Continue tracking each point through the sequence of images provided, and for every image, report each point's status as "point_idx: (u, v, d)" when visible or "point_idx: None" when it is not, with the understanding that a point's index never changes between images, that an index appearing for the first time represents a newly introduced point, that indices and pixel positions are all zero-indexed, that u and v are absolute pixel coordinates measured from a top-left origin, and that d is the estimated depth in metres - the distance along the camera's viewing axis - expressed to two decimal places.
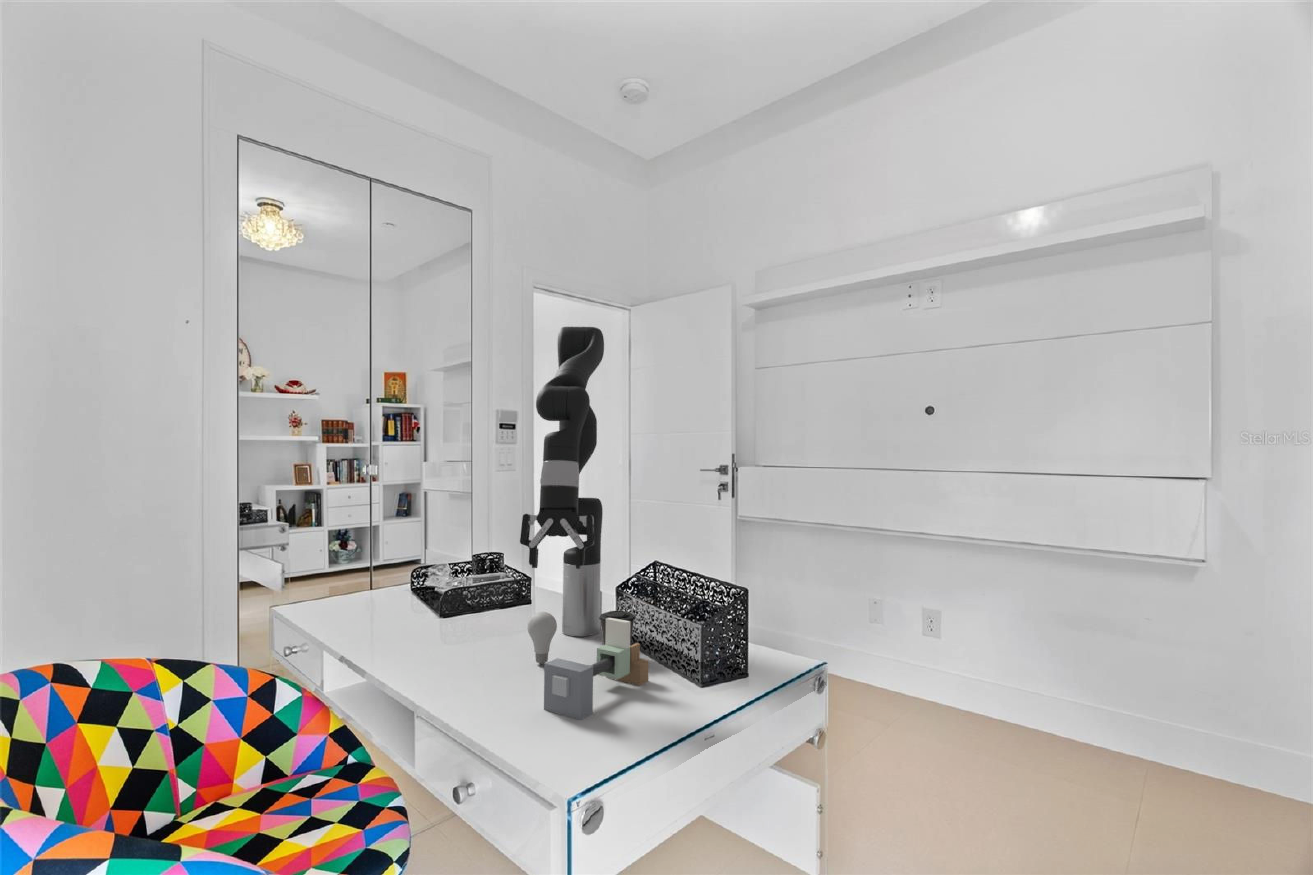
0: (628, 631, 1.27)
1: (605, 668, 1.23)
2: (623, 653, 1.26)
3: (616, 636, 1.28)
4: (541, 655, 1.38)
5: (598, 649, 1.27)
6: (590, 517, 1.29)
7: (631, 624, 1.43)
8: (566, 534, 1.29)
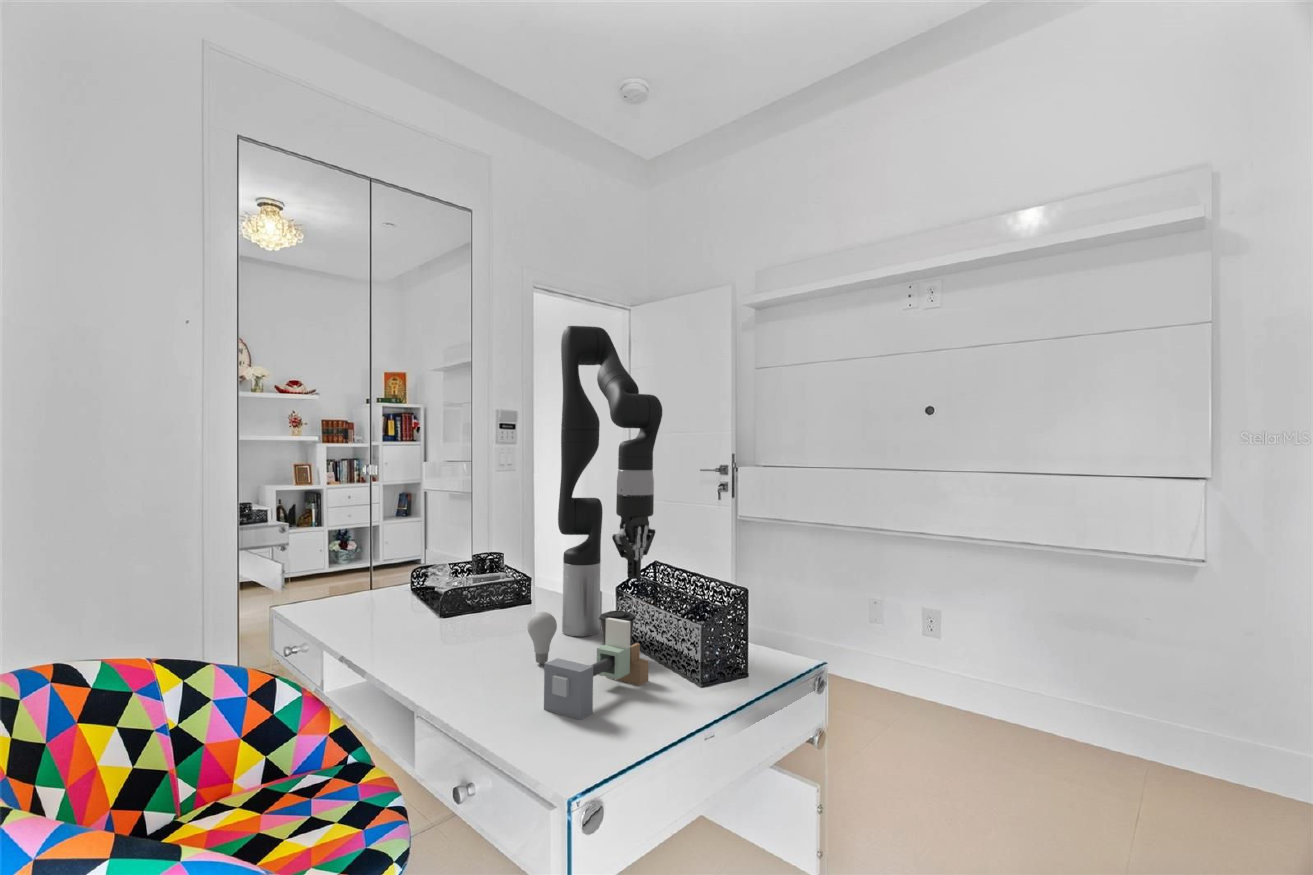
0: (628, 631, 1.27)
1: (605, 668, 1.23)
2: (623, 653, 1.26)
3: (616, 636, 1.28)
4: (541, 655, 1.38)
5: (598, 649, 1.27)
6: (654, 532, 1.38)
7: (631, 624, 1.43)
8: None
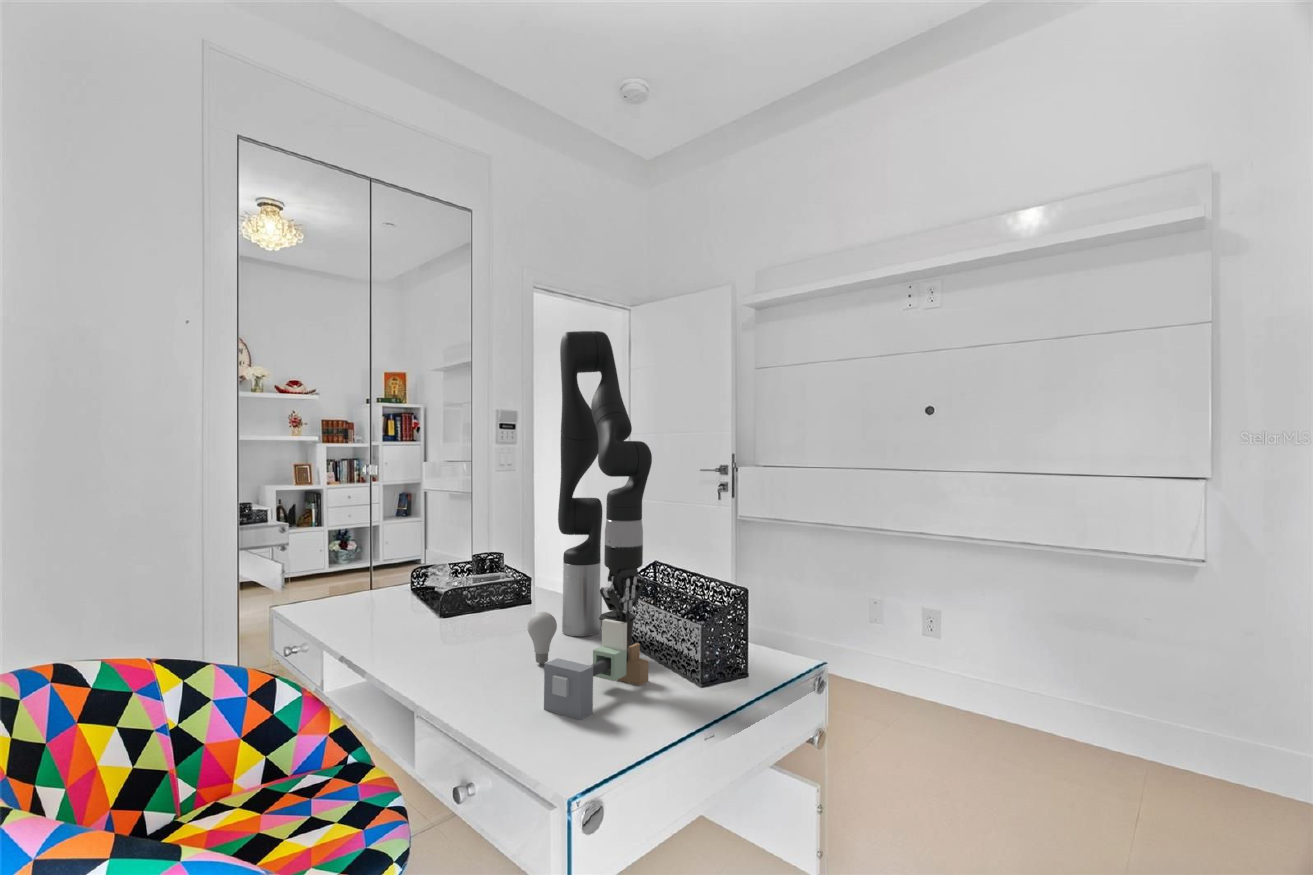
0: (624, 632, 1.26)
1: (605, 668, 1.23)
2: (619, 655, 1.25)
3: (612, 638, 1.27)
4: (541, 655, 1.38)
5: (594, 651, 1.26)
6: (644, 582, 1.34)
7: (631, 624, 1.43)
8: None
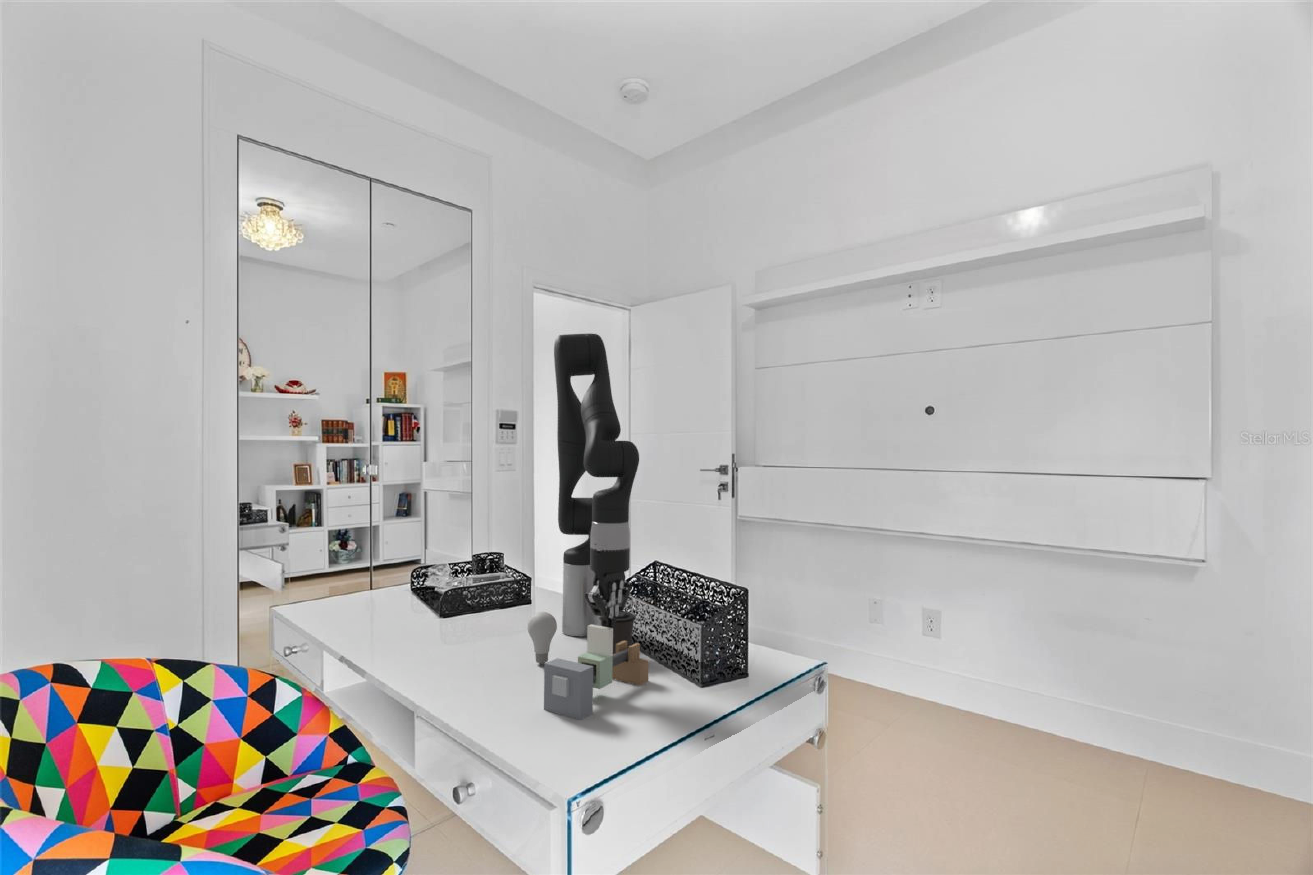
0: (610, 638, 1.22)
1: None
2: (605, 662, 1.21)
3: (598, 644, 1.23)
4: (541, 655, 1.38)
5: (579, 657, 1.22)
6: (631, 586, 1.30)
7: (631, 624, 1.43)
8: None
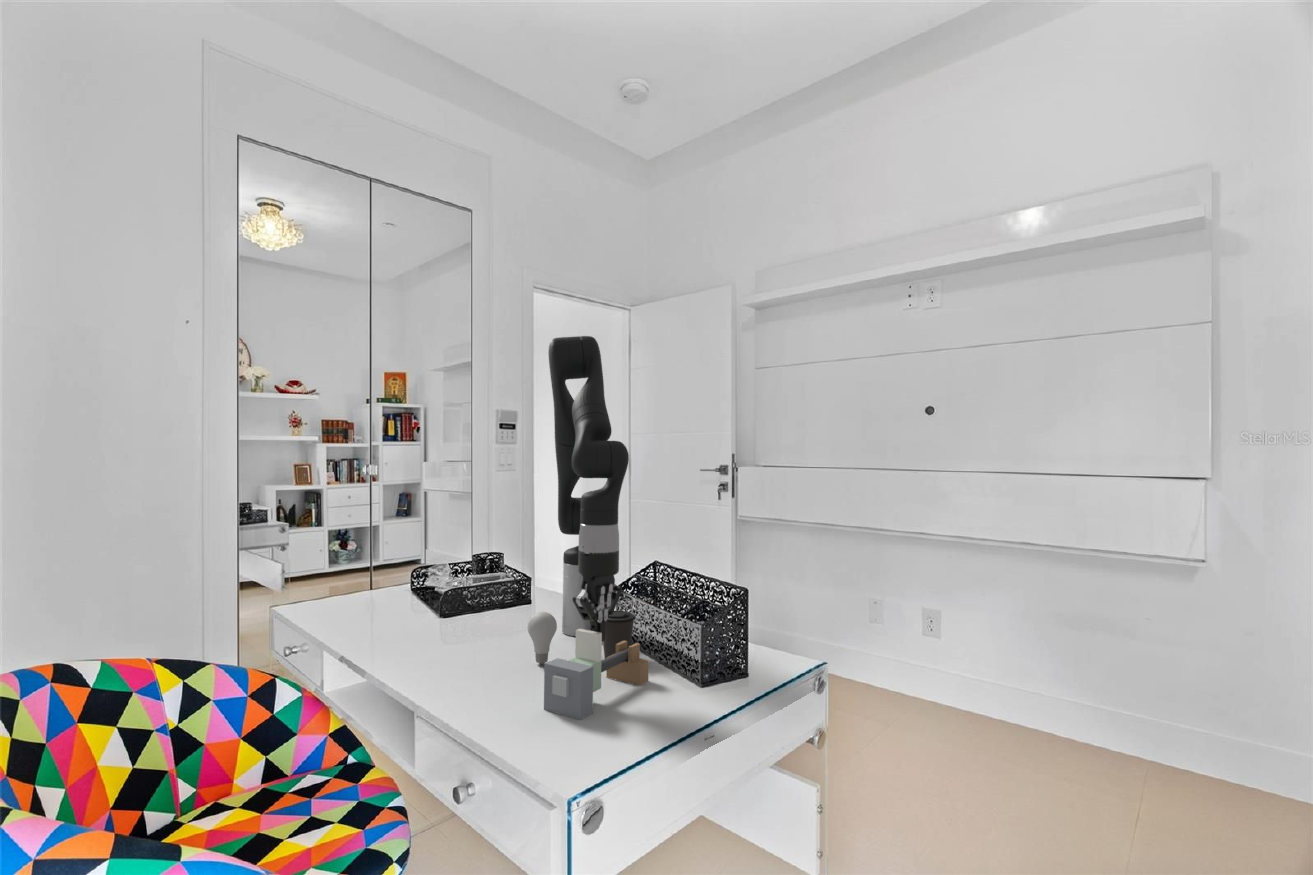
0: (599, 643, 1.19)
1: (605, 668, 1.23)
2: (593, 667, 1.18)
3: (586, 649, 1.20)
4: (541, 655, 1.38)
5: None
6: (621, 589, 1.27)
7: (631, 624, 1.43)
8: None
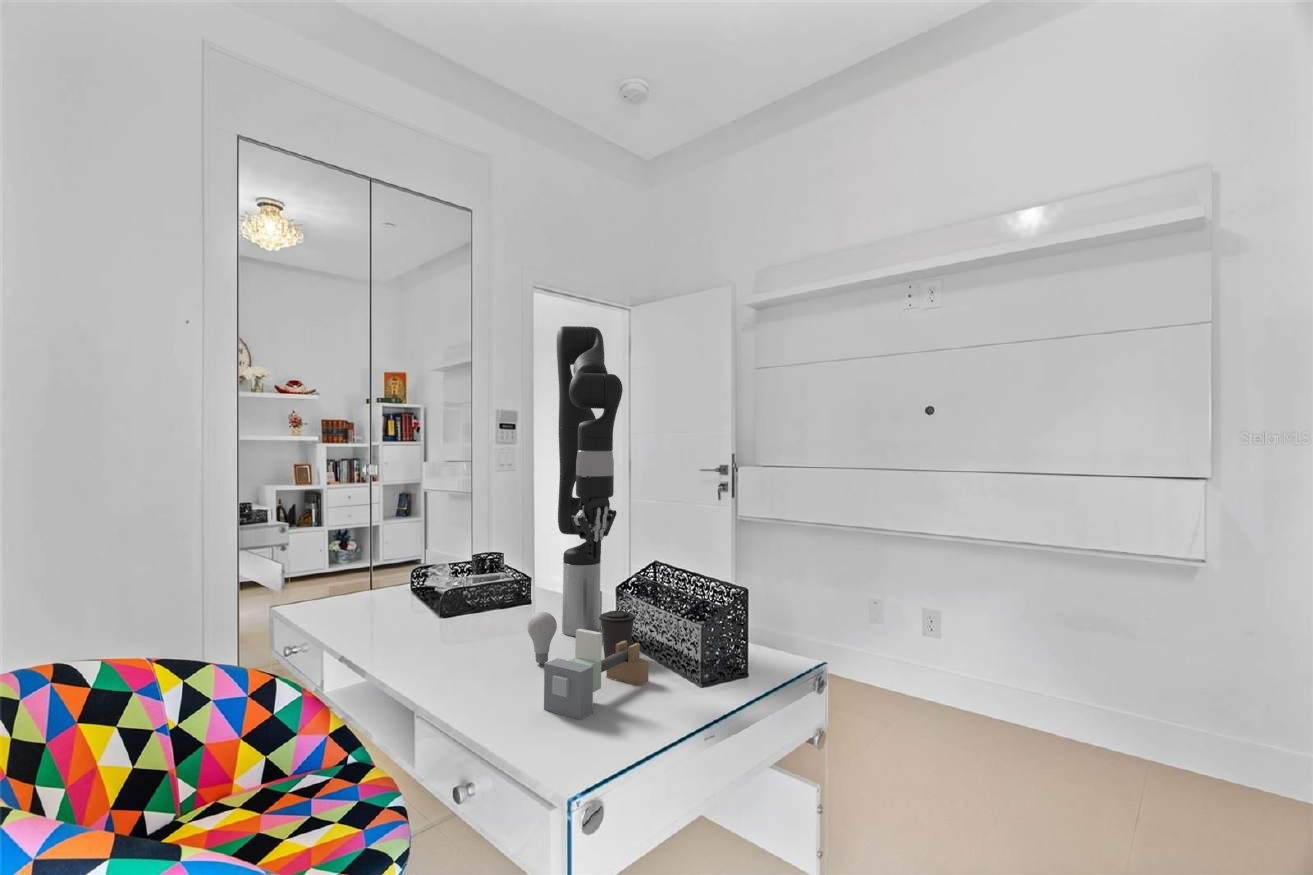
0: (599, 643, 1.19)
1: (605, 668, 1.23)
2: (593, 667, 1.18)
3: (586, 649, 1.20)
4: (541, 655, 1.38)
5: None
6: (615, 513, 1.37)
7: (631, 624, 1.43)
8: None
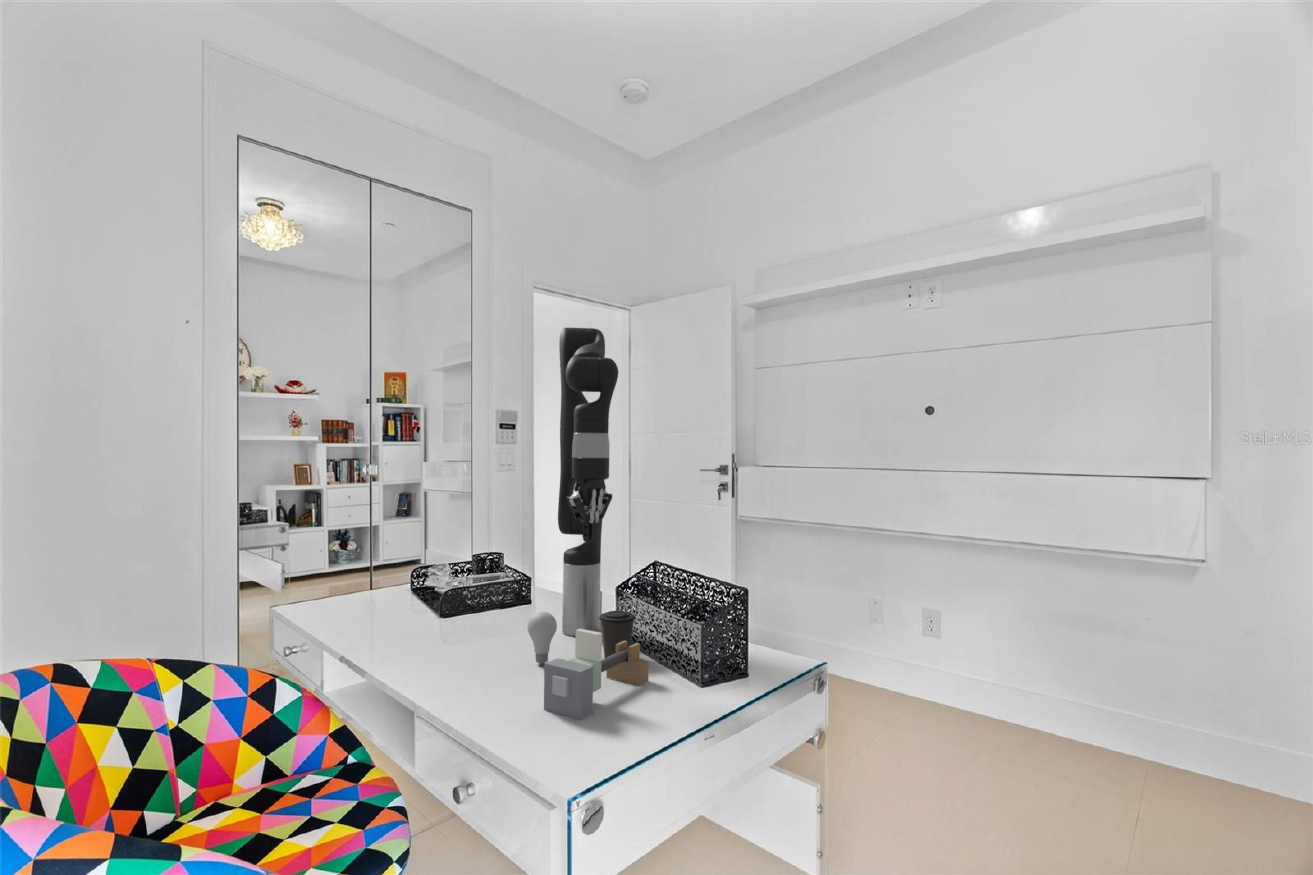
0: (599, 643, 1.19)
1: (605, 668, 1.23)
2: (593, 667, 1.18)
3: (586, 649, 1.20)
4: (541, 655, 1.38)
5: None
6: (611, 496, 1.38)
7: (631, 624, 1.43)
8: None
